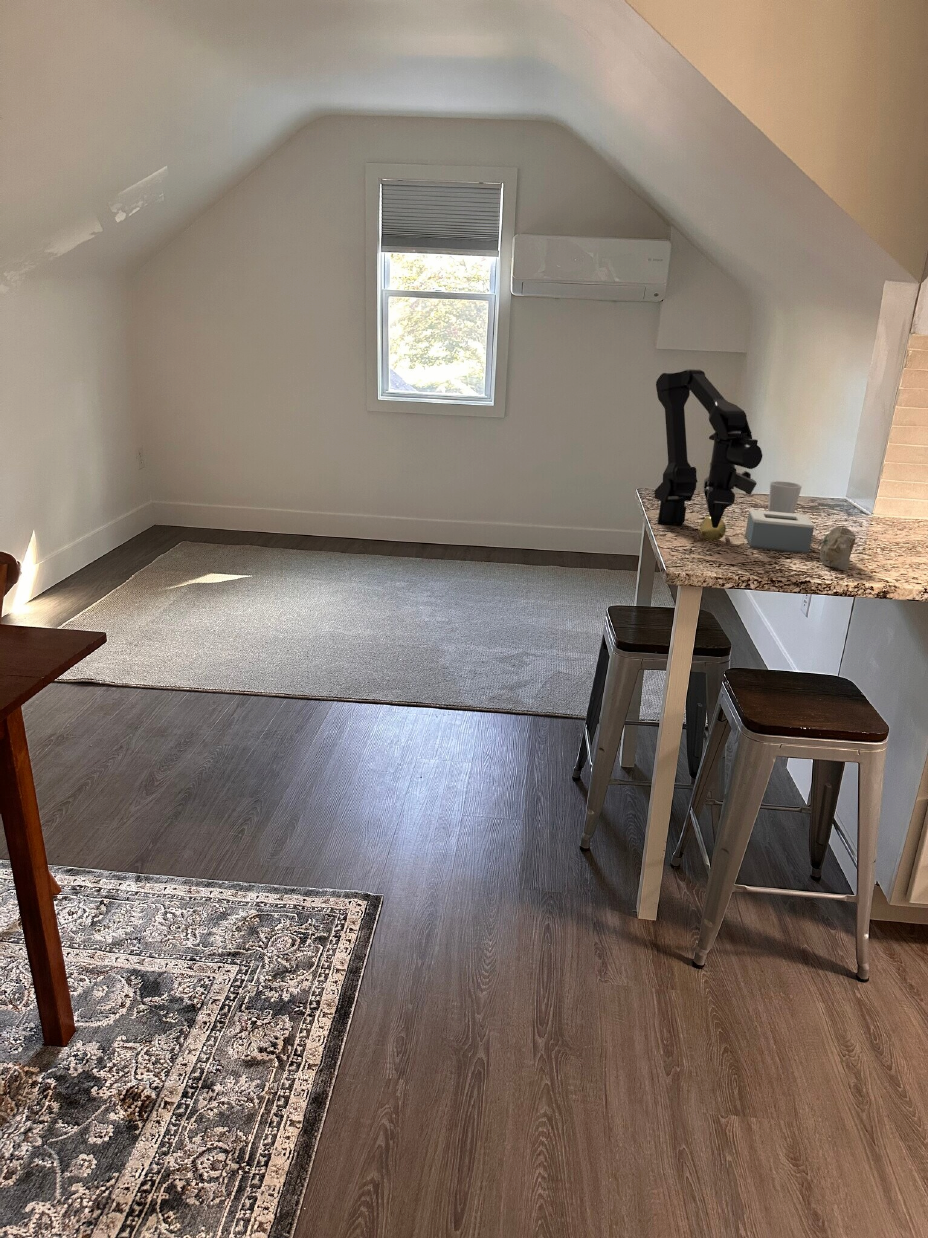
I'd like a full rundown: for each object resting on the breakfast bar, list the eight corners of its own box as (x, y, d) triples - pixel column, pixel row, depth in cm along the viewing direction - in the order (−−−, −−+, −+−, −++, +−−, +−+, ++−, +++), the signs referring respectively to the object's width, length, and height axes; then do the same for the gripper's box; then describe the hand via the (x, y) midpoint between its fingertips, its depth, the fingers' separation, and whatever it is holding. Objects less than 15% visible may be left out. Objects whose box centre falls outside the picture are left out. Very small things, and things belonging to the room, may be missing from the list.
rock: (816, 550, 220) (830, 515, 213) (844, 557, 218) (859, 523, 212) (812, 577, 211) (827, 542, 204) (841, 585, 209) (857, 550, 203)
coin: (699, 540, 228) (702, 516, 226) (698, 537, 230) (702, 514, 228) (724, 542, 227) (727, 518, 225) (723, 539, 229) (726, 516, 227)
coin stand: (694, 540, 227) (695, 537, 227) (693, 535, 231) (694, 532, 231) (729, 544, 226) (730, 540, 225) (728, 539, 230) (728, 536, 230)
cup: (795, 533, 241) (803, 488, 237) (764, 530, 242) (772, 485, 238) (791, 526, 248) (799, 482, 244) (761, 523, 249) (768, 480, 245)
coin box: (749, 547, 223) (754, 519, 221) (744, 535, 235) (749, 509, 232) (809, 553, 221) (814, 525, 219) (801, 541, 232) (806, 514, 230)
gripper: (761, 470, 212) (750, 535, 217) (753, 457, 229) (743, 518, 235) (712, 466, 214) (703, 530, 219) (707, 454, 231) (699, 514, 236)
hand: (713, 523), depth 227 cm, fingers open, 9 cm apart
